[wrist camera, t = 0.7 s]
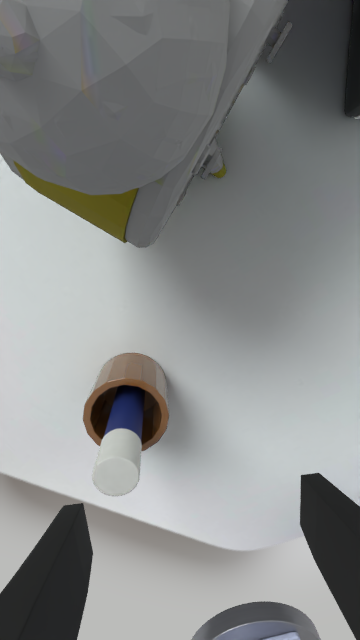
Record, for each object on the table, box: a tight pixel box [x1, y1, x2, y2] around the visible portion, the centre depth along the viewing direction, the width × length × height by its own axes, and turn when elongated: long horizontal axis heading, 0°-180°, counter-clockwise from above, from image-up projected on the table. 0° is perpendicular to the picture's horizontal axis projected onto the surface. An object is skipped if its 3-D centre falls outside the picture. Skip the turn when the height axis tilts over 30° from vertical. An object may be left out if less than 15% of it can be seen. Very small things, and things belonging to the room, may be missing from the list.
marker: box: [92, 385, 145, 496], centre depth 16 cm, size 2×2×8 cm
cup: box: [83, 353, 169, 451], centre depth 19 cm, size 5×5×4 cm
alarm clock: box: [0, 0, 292, 248], centre depth 10 cm, size 12×7×15 cm, turn 150°
